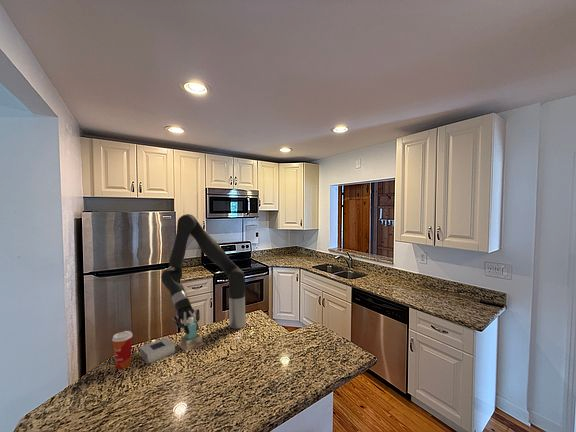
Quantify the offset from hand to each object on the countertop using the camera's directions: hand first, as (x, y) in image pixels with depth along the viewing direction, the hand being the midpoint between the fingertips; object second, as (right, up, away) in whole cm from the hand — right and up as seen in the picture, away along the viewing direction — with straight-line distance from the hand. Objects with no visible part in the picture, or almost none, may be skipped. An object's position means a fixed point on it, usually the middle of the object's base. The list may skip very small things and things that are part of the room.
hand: (192, 331), depth 128 cm
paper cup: (-25, -8, -15) cm, 30 cm away
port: (-14, -8, -7) cm, 18 cm away
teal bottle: (-1, -7, +1) cm, 7 cm away
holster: (-1, -8, +1) cm, 8 cm away
